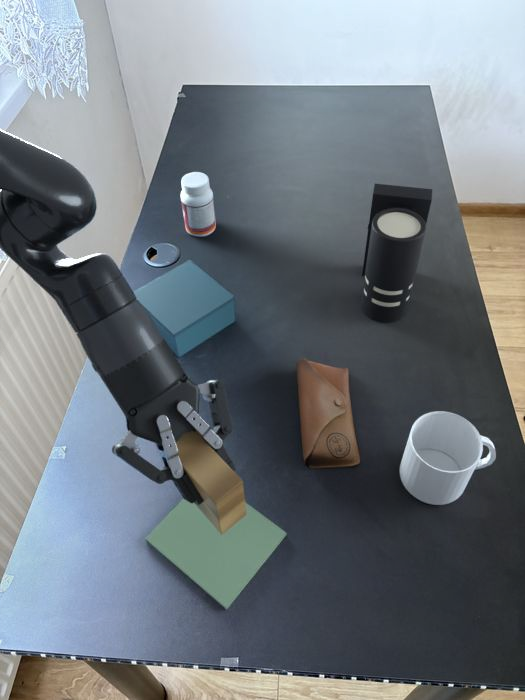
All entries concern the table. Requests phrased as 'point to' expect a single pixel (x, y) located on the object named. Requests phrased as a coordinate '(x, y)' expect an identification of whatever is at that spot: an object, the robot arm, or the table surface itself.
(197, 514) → the mat
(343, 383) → the sunglasses case
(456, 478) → the mug
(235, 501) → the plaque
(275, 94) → the table surface
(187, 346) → the toy box
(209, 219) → the pill bottle
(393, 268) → the light fixture
